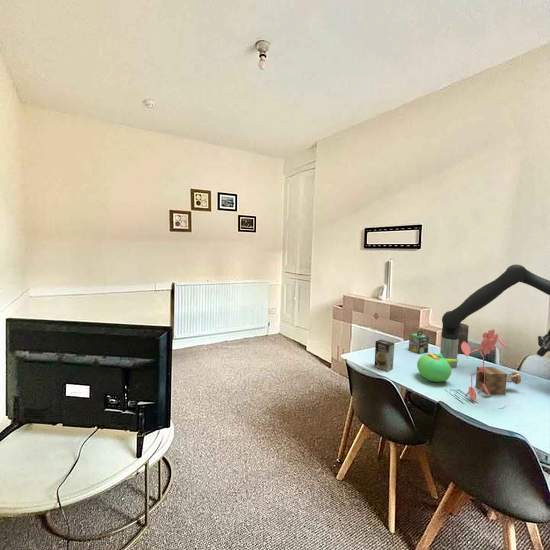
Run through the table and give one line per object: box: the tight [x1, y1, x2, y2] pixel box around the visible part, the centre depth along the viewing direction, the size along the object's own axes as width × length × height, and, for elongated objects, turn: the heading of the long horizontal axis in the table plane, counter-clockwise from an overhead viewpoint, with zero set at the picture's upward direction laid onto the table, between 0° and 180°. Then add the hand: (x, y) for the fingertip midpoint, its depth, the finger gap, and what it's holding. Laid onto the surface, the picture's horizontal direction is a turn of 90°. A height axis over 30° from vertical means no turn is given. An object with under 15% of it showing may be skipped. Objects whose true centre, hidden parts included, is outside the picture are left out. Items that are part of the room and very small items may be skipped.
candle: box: [457, 322, 469, 354], centre depth 216 cm, size 8×7×20 cm
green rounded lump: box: [416, 352, 459, 383], centre depth 172 cm, size 18×17×15 cm
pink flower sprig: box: [456, 328, 508, 409], centre depth 147 cm, size 15×26×35 cm, turn 113°
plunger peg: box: [506, 371, 522, 385], centre depth 160 cm, size 12×6×6 cm, turn 92°
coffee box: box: [374, 339, 395, 373], centre depth 188 cm, size 9×6×16 cm
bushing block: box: [474, 366, 508, 396], centre depth 160 cm, size 9×9×11 cm
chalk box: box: [408, 330, 430, 355], centre depth 218 cm, size 9×9×15 cm
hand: (539, 355), depth 160 cm, fingers closed
